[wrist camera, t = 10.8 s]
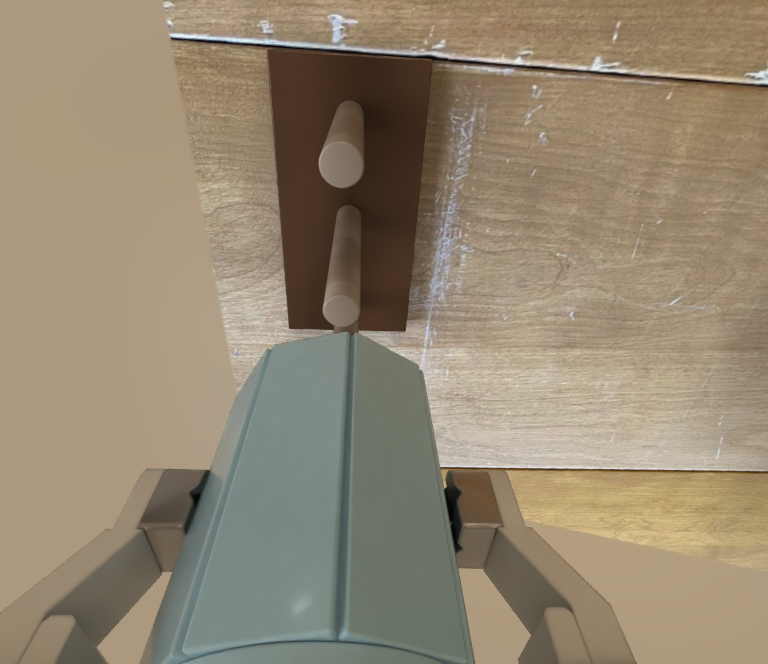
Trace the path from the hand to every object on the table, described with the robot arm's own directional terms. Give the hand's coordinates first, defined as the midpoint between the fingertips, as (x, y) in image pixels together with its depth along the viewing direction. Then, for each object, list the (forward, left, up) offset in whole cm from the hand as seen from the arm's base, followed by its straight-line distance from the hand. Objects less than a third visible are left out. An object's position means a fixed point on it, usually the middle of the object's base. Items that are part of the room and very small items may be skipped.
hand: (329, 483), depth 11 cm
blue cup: (0, 0, -3) cm, 3 cm away
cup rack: (0, 0, -22) cm, 22 cm away
